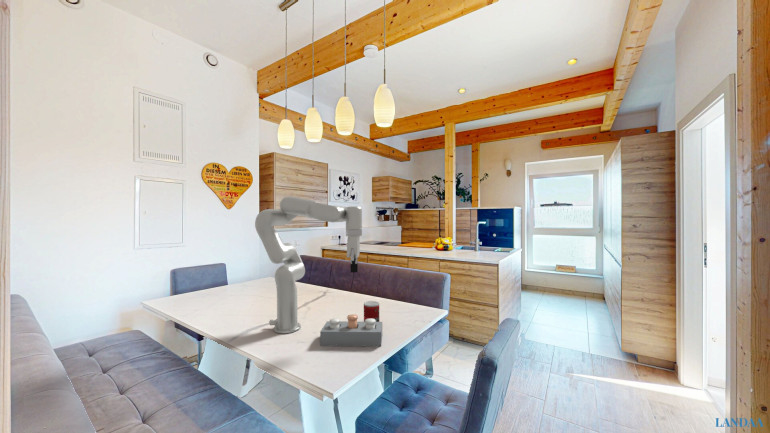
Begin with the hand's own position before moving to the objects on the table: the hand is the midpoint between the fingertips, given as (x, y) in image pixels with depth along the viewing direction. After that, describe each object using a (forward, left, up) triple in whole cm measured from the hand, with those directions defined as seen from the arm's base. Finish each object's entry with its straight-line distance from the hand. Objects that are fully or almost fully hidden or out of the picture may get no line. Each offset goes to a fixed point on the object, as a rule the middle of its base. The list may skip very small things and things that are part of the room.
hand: (354, 272), depth 136 cm
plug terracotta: (0, -6, -26) cm, 27 cm away
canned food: (+7, +12, -29) cm, 32 cm away
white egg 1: (-8, -6, -28) cm, 30 cm away
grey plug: (+8, -6, -28) cm, 30 cm away
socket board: (0, -6, -29) cm, 30 cm away
